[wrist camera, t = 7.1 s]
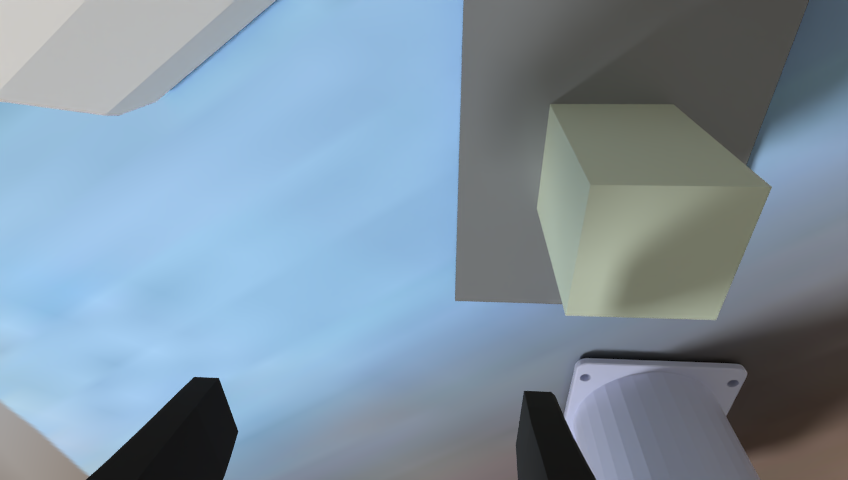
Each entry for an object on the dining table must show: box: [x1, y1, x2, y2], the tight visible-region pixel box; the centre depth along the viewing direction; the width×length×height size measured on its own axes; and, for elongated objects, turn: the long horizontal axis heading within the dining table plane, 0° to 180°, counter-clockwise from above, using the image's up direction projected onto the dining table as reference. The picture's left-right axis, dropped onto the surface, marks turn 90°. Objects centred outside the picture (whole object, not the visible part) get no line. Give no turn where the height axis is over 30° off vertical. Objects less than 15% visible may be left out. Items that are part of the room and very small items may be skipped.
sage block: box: [537, 104, 772, 320], centre depth 15 cm, size 4×4×6 cm
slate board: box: [455, 0, 809, 304], centre depth 17 cm, size 14×10×1 cm
